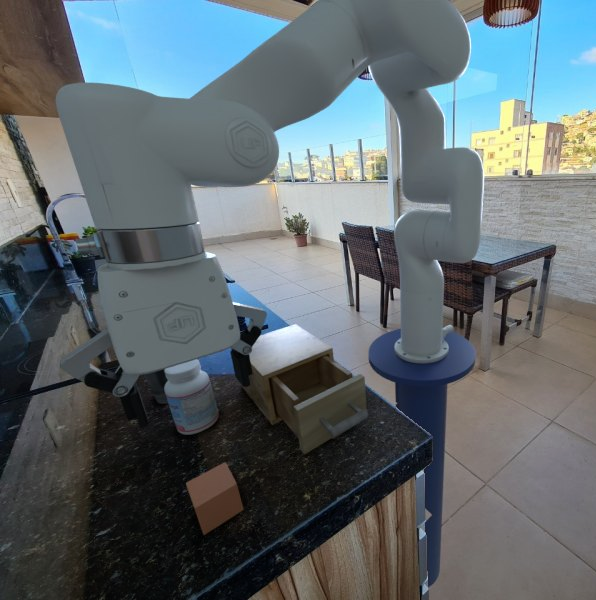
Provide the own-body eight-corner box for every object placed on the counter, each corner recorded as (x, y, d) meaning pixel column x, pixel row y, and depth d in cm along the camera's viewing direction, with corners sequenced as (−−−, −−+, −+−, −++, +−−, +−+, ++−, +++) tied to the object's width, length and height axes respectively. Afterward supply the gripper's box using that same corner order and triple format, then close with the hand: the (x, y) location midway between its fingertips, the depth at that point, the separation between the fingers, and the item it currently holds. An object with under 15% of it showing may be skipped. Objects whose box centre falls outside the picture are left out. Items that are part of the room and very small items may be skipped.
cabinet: (337, 392, 61) (332, 347, 57) (272, 425, 53) (262, 376, 49) (301, 363, 71) (295, 323, 67) (242, 387, 63) (232, 344, 59)
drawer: (383, 429, 50) (381, 388, 47) (319, 472, 43) (312, 426, 40) (325, 382, 62) (320, 347, 60) (267, 409, 55) (259, 371, 52)
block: (232, 486, 42) (225, 461, 41) (243, 509, 39) (236, 483, 38) (194, 509, 39) (185, 482, 38) (203, 535, 36) (194, 508, 35)
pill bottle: (176, 420, 54) (157, 363, 50) (216, 406, 58) (201, 351, 54) (179, 442, 50) (158, 381, 46) (222, 424, 53) (207, 366, 49)
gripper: (7, 268, 21) (92, 463, 27) (265, 239, 32) (287, 382, 38) (22, 252, 26) (91, 419, 32) (240, 232, 38) (263, 359, 43)
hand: (197, 399), depth 35 cm, fingers open, 9 cm apart
